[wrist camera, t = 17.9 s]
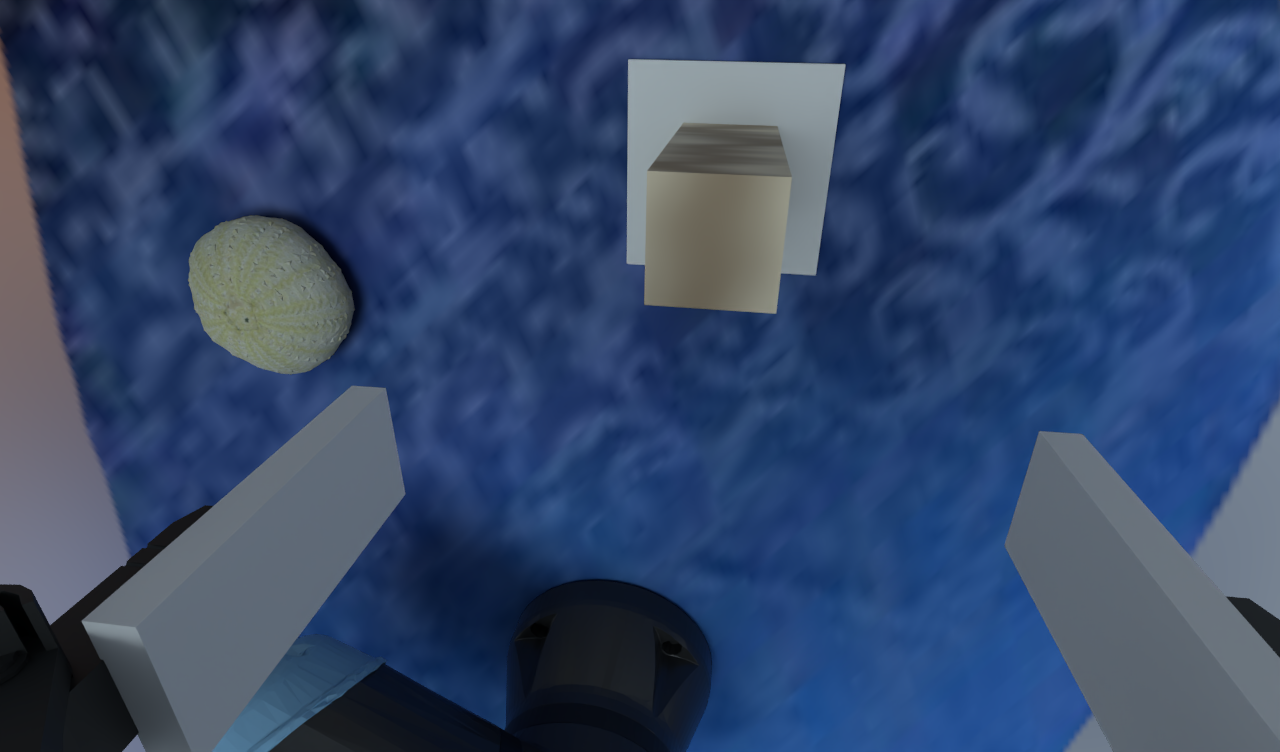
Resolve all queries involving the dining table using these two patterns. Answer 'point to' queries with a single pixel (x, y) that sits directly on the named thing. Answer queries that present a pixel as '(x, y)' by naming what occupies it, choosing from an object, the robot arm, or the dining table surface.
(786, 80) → the mat
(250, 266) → the sea urchin shell
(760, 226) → the beige rectangular block
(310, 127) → the dining table surface
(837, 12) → the dining table surface
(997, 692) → the dining table surface
